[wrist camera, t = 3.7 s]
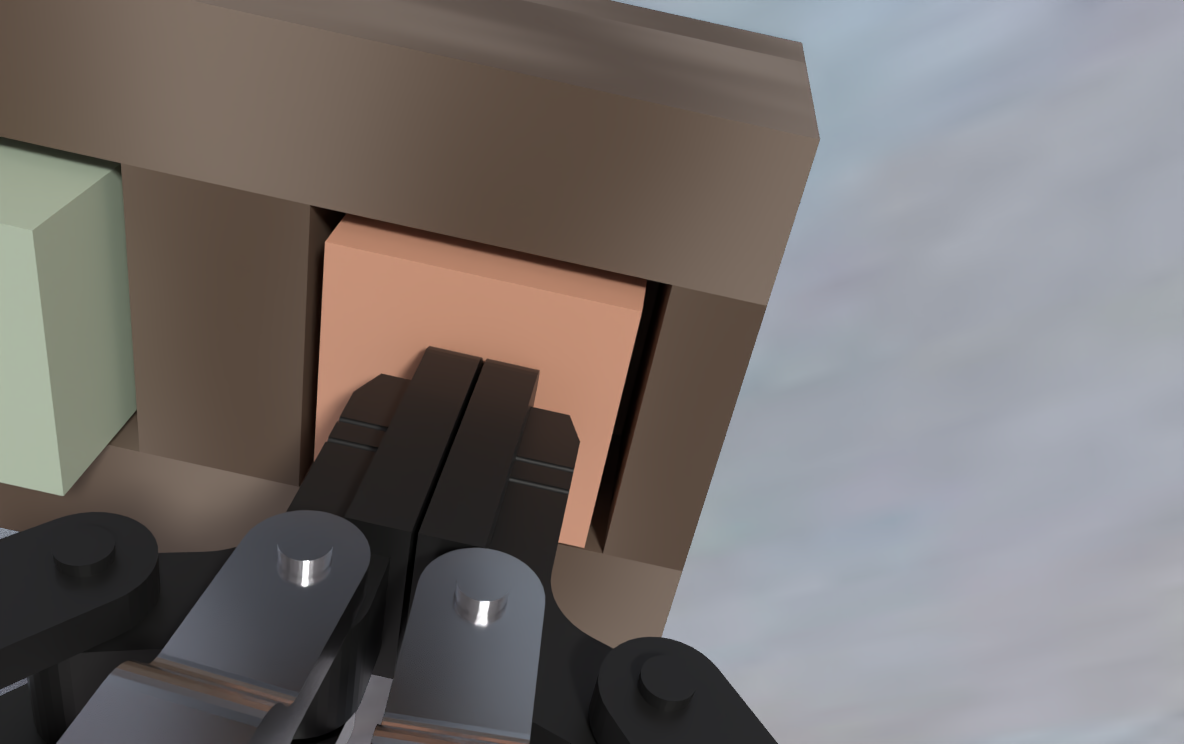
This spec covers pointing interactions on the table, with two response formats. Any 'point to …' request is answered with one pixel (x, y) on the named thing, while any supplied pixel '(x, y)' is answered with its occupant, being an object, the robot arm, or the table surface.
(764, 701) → the table surface
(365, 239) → the terracotta button
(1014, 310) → the table surface
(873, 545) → the table surface
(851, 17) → the table surface
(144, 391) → the button board
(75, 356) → the sage button
